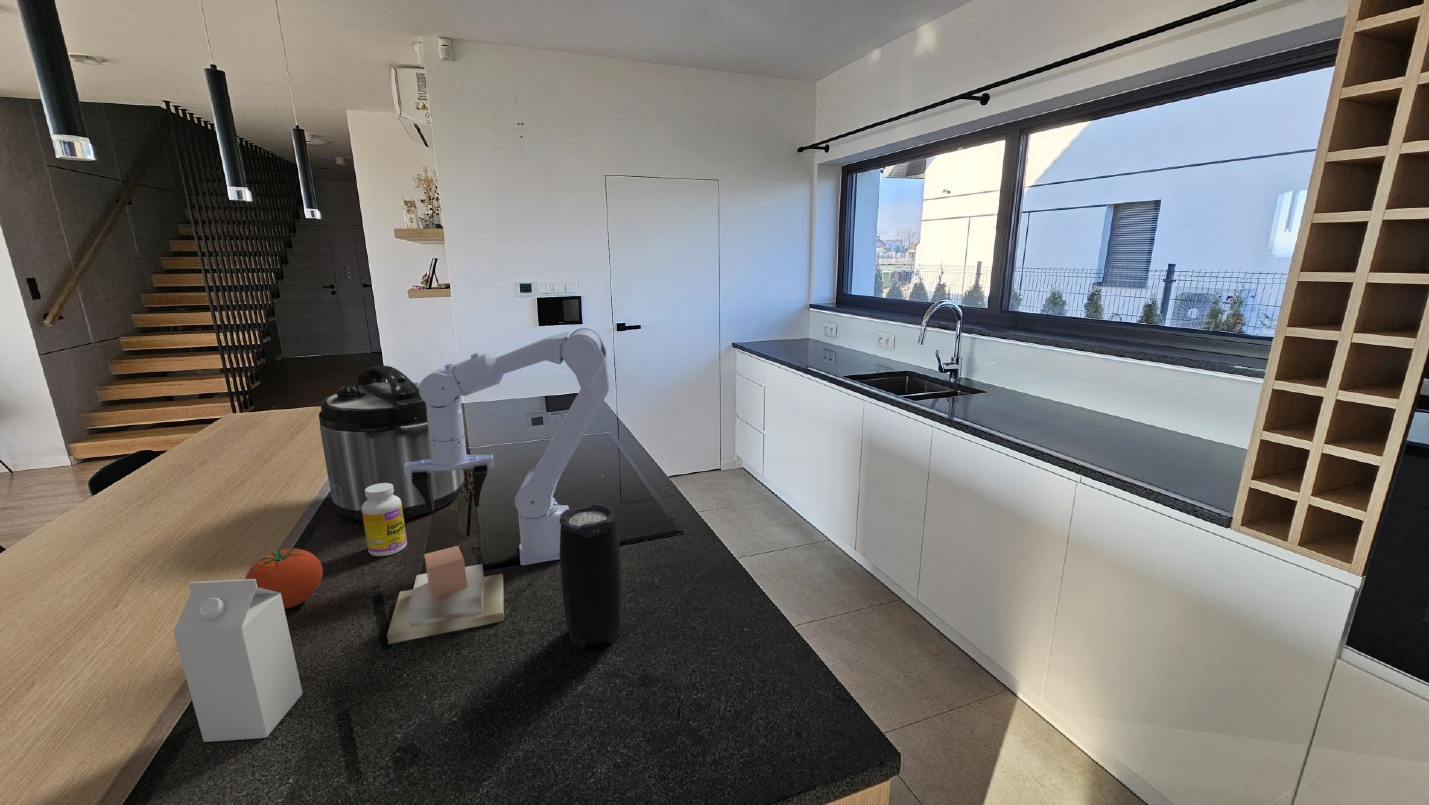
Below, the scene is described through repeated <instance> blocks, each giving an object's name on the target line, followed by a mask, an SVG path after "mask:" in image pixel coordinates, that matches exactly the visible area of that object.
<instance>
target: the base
mask: <svg viewBox="0 0 1429 805" xmlns="http://www.w3.org/2000/svg"><path fill="white" fill-rule="evenodd" d="M465 571H466V579H467V588H464V589H460V590H457V591H453V592H450V593H446V594H443V595H439V596H436V597H433V596H432V593H431V590H430V586H429V583H428V577H427V573H422V574H421V573H420V574H417V575H416V576H415V582H414V585H413V589H407V590H401V591H399V594H398V597H397V600H396V604H395V607H394V610H393V614H392V617H391V621H390V624H389V627H388V631H387V634H386V638H387V643H388V645H390V644H396V643H401V642H407V641H413V640H416V639H420V638H421V639H422V638H426V637H431V636H436V635H441V634H445V633H450V632H451V633H452V632H457V631H461V630H466V629H470V628H471V629H472V628H476V627H481V626H486V625H491V624H495V623H496V624H497V623H501V622H504V620H505V611H504V610H505V605H504V604H505V600H504V595H505V594H504V573H499V574H492V575H487V576H484V568H483V563H481V564H475V565H469V566H465Z"/></svg>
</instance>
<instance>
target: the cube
mask: <svg viewBox="0 0 1429 805" xmlns="http://www.w3.org/2000/svg"><path fill="white" fill-rule="evenodd" d="M423 556H424V563H425V569H426V574H427V577H428V583H429V586H430V590H431V593H432V596H433V597H436V596H439V595H443V594H446V593H450V592H453V591H457V590H460V589H464V588H467V579H466V571H465V567H466V565H465V558H464V556H463V554H462V551H461V549H460V547H459V545H456V546H455V545H454V546H452V547H447V548H443V549H440V550H436V551H432V552H427V553H424V554H423Z"/></svg>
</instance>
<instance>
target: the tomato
mask: <svg viewBox="0 0 1429 805" xmlns="http://www.w3.org/2000/svg"><path fill="white" fill-rule="evenodd" d="M323 572H324V570H323V567H322V562H321V561H320V560H319V558H318V557H317V556H316V555H314V554H313V553H312V552H310V551H307V550H304V549H301V548H300V549H299V548H298V547H296V548H288V549H286V548H285V549H282V550H280V548H277V550H273V552H271V553H269V554H267V555H264V556H263V557H262V558H259V559H257V560H256V561H255V563H254V564H253V565H252V566H251V567H250V568H249V570H248V572H247V574H246V576H245V578H244V580H245V579H256V583H257V587H258V588H262V589H266V590H271V591H275V592H279V593H281V596H282V601H283V606H284V610H285V609H289V608H293V607H295V606H298V605H301V604H302V603H303V602H305V601H306V600H308V599H309V598H311V597H312V595H313V594H315V592H316V591H317V590H318V589H319V587H320V585H321V583H322V578H323V575H324V574H323Z"/></svg>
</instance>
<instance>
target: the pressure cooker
mask: <svg viewBox="0 0 1429 805" xmlns="http://www.w3.org/2000/svg"><path fill="white" fill-rule="evenodd" d="M385 380H386V381H385ZM420 383H421V382H413V381H412V380H411V379H410V378H409V377H408V376H407V375H405V374H404V373H403V372H401V371H400V370H398V369H397V368H395V367H393V366H389V365H375V366H371V367H369V368H367V369H366V370H364V371H363V372H362V373H361V374H359V376H357V382H355V385H354V384H353V385H352V384H349V385H348V384H346V385H343V386H341V387H340V388H339V389H338V390H337V392H336V393H334V394H331V395H329V396H327V397H325V398H324V399H322V400H321V402H320V409H321V411H319V413H318V420H319V431H320V436H321V442H322V447H323V453H324V454H323V455H324V460H325V461H324V462H325V466H326V472H327V478H328V483H329V488H330V495H331V499H332V502H333V504H334V507H335V508H336V510H337V511H338V512H339V513H340V515H342V516H343V517H346V518H348V519H349V520H354V521H360V522H364V521H363V515H362V505H363V503H364V502H365V501H367V500H368V499H367V497H366V496H365V489H366V488H367V487H369V486H371V485H375V484H379V483H390V484H392V485H393V488H394V492H393V495H395V496H397V497H399V498H400V500H401V503H402V510H403V517H404V519H410V518H413V517H417V516H422V515H425V514H427V513H429V511H428V508H427V505H426V503H425V501H424V499H423V497H422V495H421V494H420V492H419V491H418V490H417V488H416V487H415V486H414V485H413V483H412V476H406V477H405V472H404V465H405V463H408V462H415V461H420V460H426V459H431V458H432V457H431V448H430V439H429V430H428V421H427V409H426V402H424V401H423V399H422V398H421V396H420V393H419V386H420ZM464 434H465V435H466V431H464ZM465 444H466V454H467V455H470V454H469V449H468V444H467V438H466V436H465ZM430 477H431V490H432V496H433V501H434V510H433V511H436V510H438V509H439V508H442V507H444V506H446V505H448V504H450V502H452V501H454V500H455V499H456V498H457V497H459V495H460V494H461V491H462V490H463V487H464V486H465V472H464V469H463V470H453V471H443V472H433V473H430Z"/></svg>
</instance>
